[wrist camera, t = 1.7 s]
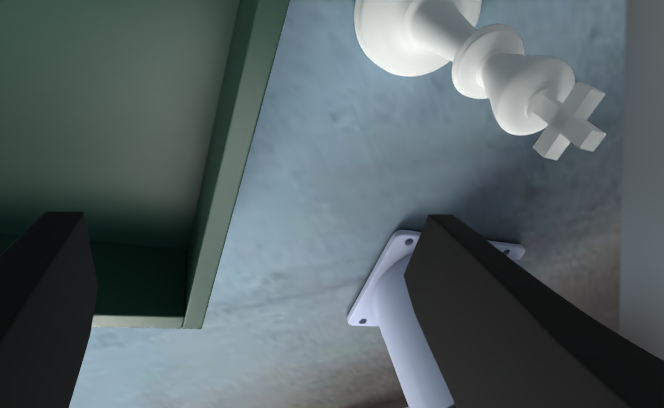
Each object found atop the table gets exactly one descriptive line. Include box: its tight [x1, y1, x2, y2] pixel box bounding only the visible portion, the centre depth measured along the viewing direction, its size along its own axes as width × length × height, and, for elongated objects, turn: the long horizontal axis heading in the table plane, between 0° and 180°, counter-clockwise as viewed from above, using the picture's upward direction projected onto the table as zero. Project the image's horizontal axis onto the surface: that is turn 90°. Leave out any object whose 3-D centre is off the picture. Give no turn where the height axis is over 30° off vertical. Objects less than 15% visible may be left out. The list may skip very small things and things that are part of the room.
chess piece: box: [354, 0, 607, 160], centre depth 13 cm, size 5×5×10 cm
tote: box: [0, 0, 290, 329], centre depth 14 cm, size 12×16×5 cm
